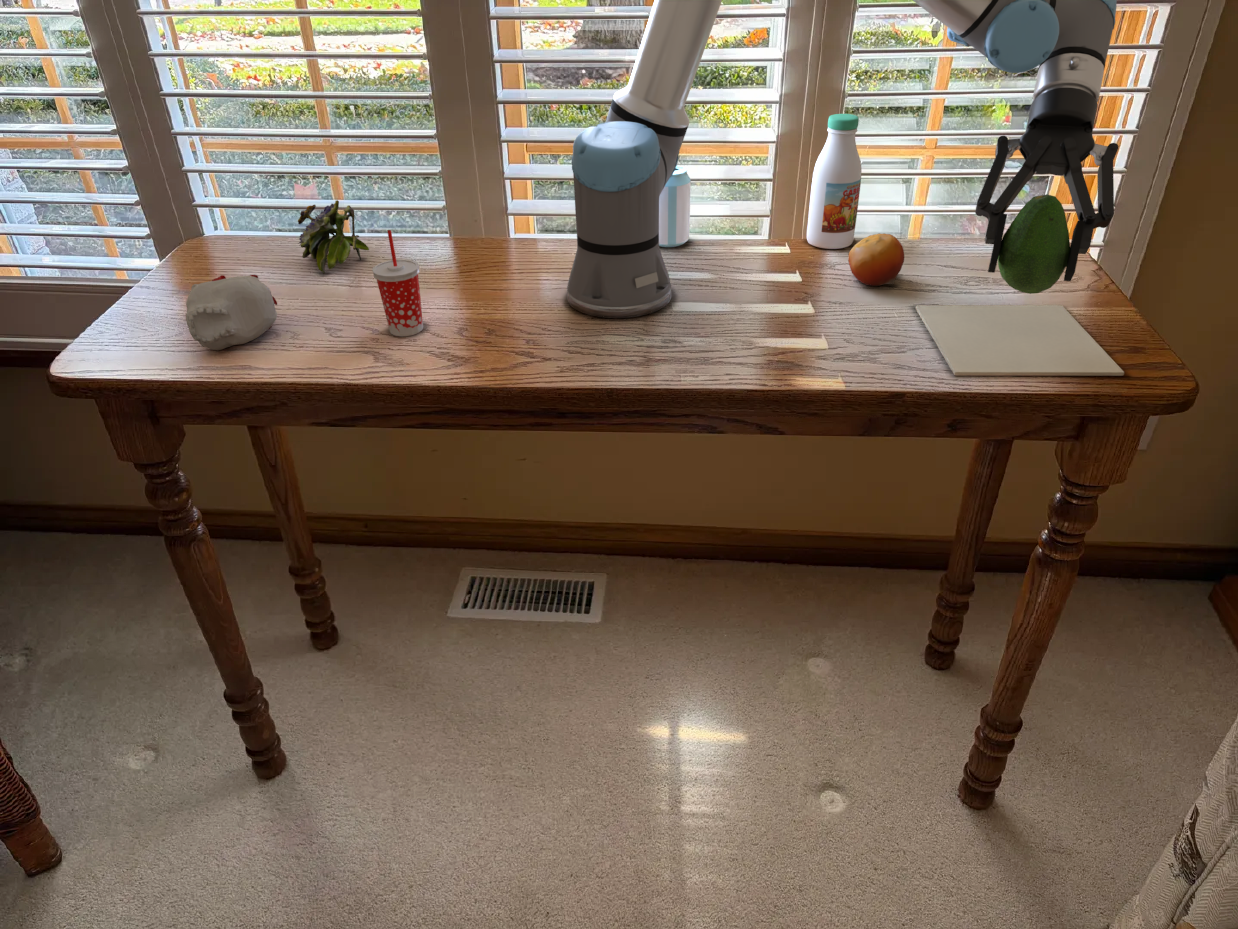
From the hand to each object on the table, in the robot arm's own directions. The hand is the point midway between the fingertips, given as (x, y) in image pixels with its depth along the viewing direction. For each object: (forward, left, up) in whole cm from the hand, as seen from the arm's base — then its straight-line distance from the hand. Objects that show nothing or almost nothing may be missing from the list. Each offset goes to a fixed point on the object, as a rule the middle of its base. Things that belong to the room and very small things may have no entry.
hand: (1030, 271), depth 104 cm
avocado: (-3, +2, -4) cm, 5 cm away
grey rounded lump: (-40, -95, -11) cm, 103 cm away
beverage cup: (-34, -73, -11) cm, 81 cm away
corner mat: (-3, +2, -11) cm, 11 cm away
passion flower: (-65, -81, -11) cm, 104 cm away
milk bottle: (-44, -2, -11) cm, 45 cm away
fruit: (-27, -4, -11) cm, 29 cm away
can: (-54, -27, -11) cm, 61 cm away
